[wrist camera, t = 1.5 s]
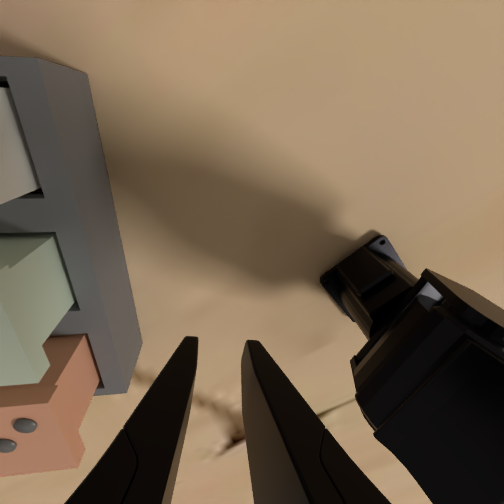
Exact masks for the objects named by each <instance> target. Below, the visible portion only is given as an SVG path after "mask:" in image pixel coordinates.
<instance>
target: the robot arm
mask: <svg viewBox="0 0 504 504" xmlns="http://www.w3.org/2000/svg"><path fill="white" fill-rule="evenodd" d="M381 240H383V241H382V242H381V243H380V241H381ZM326 279H328V280H327V281H325V280H326ZM324 281H325V282H324ZM320 283H321V284H322V286H323V287H324V288H325V289H326V290H327V292H328V293H329V294H330V295H331V296H332V297H333V299H334V300H335V301H336V302H337V303H338V305H339V306H340V307H341V308H342V309H343V311H344V312H345V313H346V314H347V315H348V316H349V318H350V319H351V320H352V321H353V322H356V323H357V325H358V326H359V328H360V329H361V331H362V332H363V333H364V335H365V336H366V338H367V339H368V342H367V343H366V344H365V345H364V347H363V348H362V349H361V350H360V351H359V353H358V354H357V355H354V356H353V358H352V359H351V360H350V364H351V369H352V373H353V378H354V383H355V388H356V394H355V398H356V401H357V403H358V405H359V407H360V409H361V412H362V414H363V416H364V418H365V419H366V420H367V422H368V423H369V425H370V426H371V427H372V428H373V430H374V431H375V432H374V433H373V435H374V437H375V438H376V439H377V440H378V441H379V442H380V443H381V444H383V445H384V446H385V447H386V448H387V449H388V450H390V451H391V452H392V453H393V454H394V455H395V456H396V458H397V459H398V460H399V461H400V462H401V463H402V464H403V465H404V466H405V467H406V468H407V470H408V471H409V472H410V474H411V475H412V476H413V477H414V479H415V480H416V481H417V483H418V484H419V486H420V487H421V488H422V490H423V491H424V492H425V494H426V495H427V496H428V498H429V499H430V501H431V502H432V503H433V504H504V310H503V309H502V308H500V307H499V306H497V305H495V304H494V303H492V302H491V301H489V300H487V299H486V298H484V297H483V296H481V295H480V294H478V293H476V292H475V291H473V290H471V289H469V288H467V287H465V286H463V285H461V284H459V283H457V282H454V281H452V280H450V279H448V278H446V277H444V276H442V275H440V274H438V273H435V272H433V271H431V270H429V269H427V268H426V269H425V270H424V271H423V272H422V274H421V278H420V279H417V278H416V277H415V276H414V275H412V274H411V273H410V272H409V271H407V269H406V268H405V266H404V264H403V263H402V261H401V259H400V258H399V256H398V254H397V253H396V251H395V250H394V248H393V246H392V245H391V243H390V241H389V240H388V238H387V237H385V236H384V235H379V236H377V237H375V238H374V239H373V240H371V241H370V242H368V243H367V244H366V245H364V246H363V247H361V248H360V249H358V250H357V251H356V252H354V253H353V254H351V255H350V256H349V257H347V258H346V259H344V260H343V261H342V262H340V263H339V264H338V265H336V266H335V267H333V268H332V269H331V270H329V271H328V272H326V273H325V274H324V275H322V276H321V277H320ZM197 358H198V337H194V336H186V337H185V338H184V339H183V340H182V342H181V343H180V345H179V346H178V348H177V349H176V351H175V352H174V353H173V355H172V356H171V358H170V359H169V361H168V362H167V364H166V365H165V367H164V368H163V370H162V371H161V372H160V374H159V375H158V377H157V378H156V380H155V381H154V383H153V384H152V386H151V387H150V388H149V390H148V391H147V393H146V394H145V396H144V397H143V399H142V400H141V402H140V403H139V404H138V406H137V407H136V409H135V410H134V412H133V413H132V415H131V416H130V418H129V419H128V420H127V422H126V423H125V425H124V426H123V429H121V430H120V432H119V433H118V435H117V436H116V438H115V439H114V441H113V442H112V443H111V445H110V446H109V448H108V449H107V450H106V452H105V453H104V454H103V456H102V457H101V459H100V460H99V461H98V463H97V464H96V465H95V467H94V468H93V469H92V470H91V472H90V473H89V474H88V475H87V477H86V478H85V479H84V480H83V482H82V483H81V484H80V485H79V486H78V488H77V489H76V490H75V491H74V493H73V494H72V495H71V496H70V497H69V499H68V500H67V501H66V502H65V503H64V504H171V500H172V495H173V490H174V486H175V481H176V476H177V472H178V467H179V462H180V458H181V453H182V448H183V444H184V439H185V434H186V430H187V425H188V420H189V415H190V409H191V402H192V396H193V389H194V383H195V376H196V369H197ZM241 385H242V414H243V423H244V431H245V438H246V446H247V453H248V461H249V468H250V476H251V483H252V491H253V498H254V504H391V503H390V502H389V501H388V499H387V498H386V497H385V496H384V495H383V494H382V493H381V492H380V491H379V490H378V488H377V487H376V486H375V485H374V484H373V483H372V482H371V481H370V480H369V479H368V478H367V476H366V475H365V474H364V473H363V472H362V471H361V470H360V468H359V467H358V466H357V465H356V464H355V463H354V462H353V460H352V459H351V458H350V457H349V456H348V454H347V453H346V452H345V451H344V450H343V448H342V447H341V446H340V445H339V443H338V442H337V441H336V440H335V438H334V437H333V436H332V434H331V433H330V432H329V431H328V429H325V426H324V424H323V423H322V422H321V420H320V419H319V418H318V417H317V415H316V414H315V413H314V411H313V410H312V409H311V408H310V406H309V405H308V404H307V402H306V401H305V400H304V398H303V397H302V396H301V395H300V393H299V392H298V391H297V389H296V388H295V387H294V386H293V384H292V383H291V382H290V380H289V379H288V378H287V376H286V375H285V374H284V373H283V371H282V370H281V369H280V367H279V366H278V365H277V364H276V362H275V361H274V360H273V358H272V357H271V356H270V354H269V353H268V352H267V351H266V349H265V348H264V347H263V345H262V344H261V343H260V342H259V341H257V340H247V341H246V343H245V346H244V351H243V355H242V360H241Z"/></svg>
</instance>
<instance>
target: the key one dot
mask: <svg viewBox="0 0 504 504" xmlns="http://www.w3.org/2000/svg"><path fill="white" fill-rule="evenodd" d="M39 188H41V185H40V182H39V178H38V175H37V172H36V169H35V166H34V163H33V159H32V156H31V153H30V150H29V147H28V144H27V140H26V137H25V134H24V131H23V128H22V125H21V121H20V118H19V115H18V112H17V109H16V106H15V102H14V99H13V96H12V93H11V90H10V88H3V87H0V204H3V203H5V202H8V201H10V200H12V199H15V198H17V197H20V196H22V195H24V194H27V193H29V192H32V191H34V190H36V189H39Z"/></svg>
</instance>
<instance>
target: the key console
mask: <svg viewBox="0 0 504 504" xmlns="http://www.w3.org/2000/svg"><path fill="white" fill-rule="evenodd" d="M0 87H10V90H11V93H12V96H13V99H14V102H15V106H16V109H17V112H18V115H19V118H20V121H21V125H22V128H23V131H24V134H25V137H26V140H27V144H28V147H29V150H30V153H31V156H32V159H33V163H34V166H35V169H36V172H37V175H38V178H39V182H40V185H41V188H42V191H43V194H24V195H22V196H20V197H17V198H15V199H12V200H10V201H8V202H5V203H3V204H0V233H31V232H56V235H57V238H58V242H59V245H60V248H61V251H62V254H63V257H64V261H65V264H66V267H67V270H68V273H69V276H70V280H71V283H72V286H73V289H74V292H75V295H76V299H77V302H74V303H73V305H72V306H71V307H70V309H69V310H68V311H67V313H66V314H65V315H64V317H63V318H62V319H61V321H60V322H59V323H58V325H57V326H56V327H55V329H54V330H53V331H52V333H51V334H50V335H49V336H53V335H69V334H84V333H88V336H89V340H90V343H91V346H92V349H93V352H94V355H95V359H96V362H97V365H98V368H99V371H100V374H101V379H100V381H99V383H98V386H97V388H96V390H95V393H94V395H93V396H99V395H110V394H121V393H127V391H128V388H129V385H130V381H131V378H132V375H133V372H134V369H135V366H136V362H137V359H138V356H139V353H140V350H141V347H142V344H143V343H142V339H141V334H140V329H139V324H138V319H137V314H136V309H135V305H134V300H133V295H132V290H131V285H130V280H129V275H128V271H127V266H126V261H125V256H124V251H123V246H122V241H121V237H120V232H119V227H118V222H117V217H116V212H115V207H114V203H113V198H112V193H111V188H110V183H109V178H108V173H107V169H106V164H105V159H104V154H103V149H102V144H101V139H100V135H99V130H98V125H97V120H96V115H95V110H94V105H93V101H92V96H91V91H90V86H89V81H88V76H87V74H86V73H83V72H80V71H77V70H74V69H71V68H67V67H64V66H61V65H58V64H55V63H52V62H49V61H46V60H43V59H40V58H34V57H11V56H0Z"/></svg>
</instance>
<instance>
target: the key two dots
mask: <svg viewBox="0 0 504 504" xmlns="http://www.w3.org/2000/svg"><path fill="white" fill-rule="evenodd" d="M75 301H76V295H75V292H74V289H73V286H72V283H71V280H70V276H69V273H68V270H67V267H66V264H65V261H64V257H63V254H62V251H61V248H60V245H59V242H58V238H57V235H56V232H31V233H0V386H9V385H21V384H33V383H39V382H40V380H41V379H42V377H43V376H44V374H45V373H46V371H47V370H48V368H49V367H50V364H49V361H48V359H47V356H46V354H45V352H44V349H43V347H42V345H43V343H44V342H45V341H46V339H47V338H48V337H49V335H50V334H51V333H52V331H53V330H54V329H55V327H56V326H57V325H58V323H59V322H60V321H61V319H62V318H63V317H64V315H65V314H66V313H67V311H68V310H69V309H70V307H71V306H72V305H73V303H74V302H75Z"/></svg>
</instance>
